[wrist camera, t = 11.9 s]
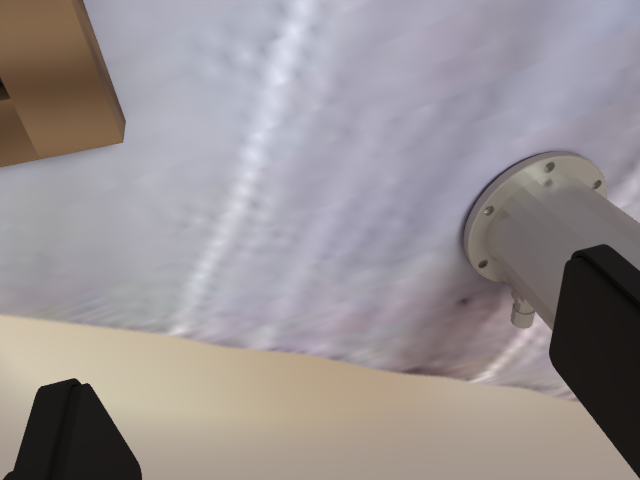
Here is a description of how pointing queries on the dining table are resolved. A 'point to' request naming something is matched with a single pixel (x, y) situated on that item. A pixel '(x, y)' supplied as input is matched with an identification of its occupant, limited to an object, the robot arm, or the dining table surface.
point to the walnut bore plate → (53, 83)
